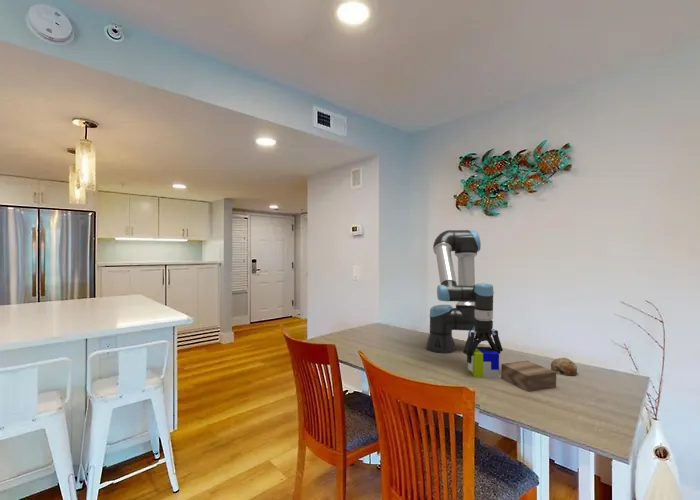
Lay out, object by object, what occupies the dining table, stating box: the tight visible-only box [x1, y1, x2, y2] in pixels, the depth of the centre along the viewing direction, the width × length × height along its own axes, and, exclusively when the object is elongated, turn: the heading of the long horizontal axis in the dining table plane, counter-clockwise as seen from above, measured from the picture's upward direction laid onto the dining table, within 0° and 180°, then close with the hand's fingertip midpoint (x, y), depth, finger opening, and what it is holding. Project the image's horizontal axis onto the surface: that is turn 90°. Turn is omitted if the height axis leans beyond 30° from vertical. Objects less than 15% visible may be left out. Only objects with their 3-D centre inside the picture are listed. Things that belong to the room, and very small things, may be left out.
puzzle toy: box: [467, 346, 500, 379], centre depth 149 cm, size 10×10×10 cm
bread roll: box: [550, 357, 578, 377], centre depth 151 cm, size 10×10×8 cm
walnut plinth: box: [500, 360, 557, 392], centre depth 139 cm, size 14×14×6 cm
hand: (482, 368), depth 149 cm, fingers closed on puzzle toy, 12 cm apart
